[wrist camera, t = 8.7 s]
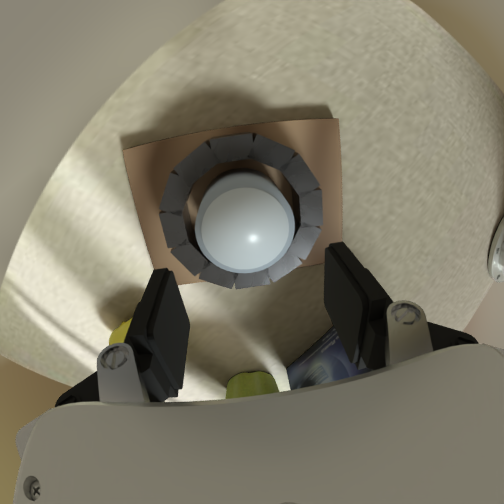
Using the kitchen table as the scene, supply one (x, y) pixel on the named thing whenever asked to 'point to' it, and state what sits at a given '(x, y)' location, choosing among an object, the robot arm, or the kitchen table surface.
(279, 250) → the cap
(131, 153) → the board
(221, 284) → the segmented ring
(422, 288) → the kitchen table surface
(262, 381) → the plant pot
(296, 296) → the kitchen table surface
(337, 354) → the small box
